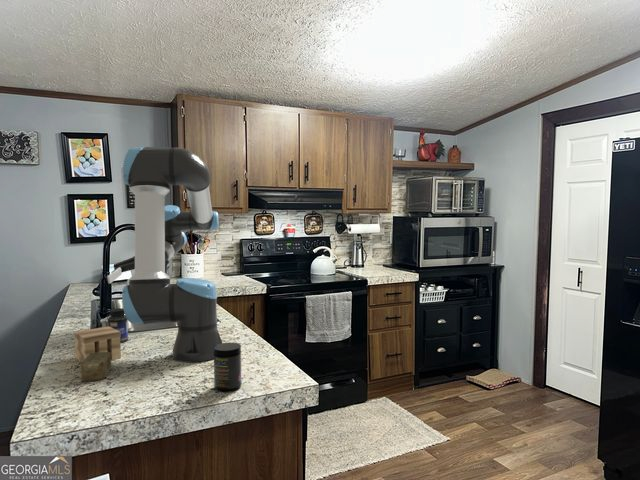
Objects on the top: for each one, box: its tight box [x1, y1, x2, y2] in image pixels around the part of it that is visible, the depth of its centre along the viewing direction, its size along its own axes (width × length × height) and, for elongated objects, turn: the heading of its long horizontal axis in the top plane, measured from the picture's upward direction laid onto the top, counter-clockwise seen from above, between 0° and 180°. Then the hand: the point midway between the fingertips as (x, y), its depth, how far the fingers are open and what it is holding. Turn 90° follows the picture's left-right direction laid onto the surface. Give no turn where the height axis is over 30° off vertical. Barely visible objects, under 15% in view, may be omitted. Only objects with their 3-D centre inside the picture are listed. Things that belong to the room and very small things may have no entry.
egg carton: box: [100, 315, 111, 327], centre depth 173 cm, size 11×8×4 cm
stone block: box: [80, 352, 112, 382], centre depth 118 cm, size 6×12×5 cm, turn 17°
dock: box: [73, 326, 122, 364], centre depth 132 cm, size 10×10×8 cm
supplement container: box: [213, 342, 243, 393], centre depth 108 cm, size 7×7×10 cm
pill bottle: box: [108, 307, 129, 344], centre depth 149 cm, size 6×6×11 cm
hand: (126, 283), depth 148 cm, fingers open, 13 cm apart
